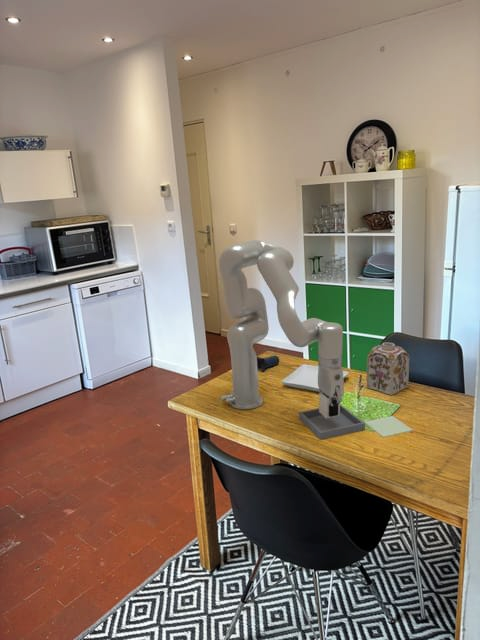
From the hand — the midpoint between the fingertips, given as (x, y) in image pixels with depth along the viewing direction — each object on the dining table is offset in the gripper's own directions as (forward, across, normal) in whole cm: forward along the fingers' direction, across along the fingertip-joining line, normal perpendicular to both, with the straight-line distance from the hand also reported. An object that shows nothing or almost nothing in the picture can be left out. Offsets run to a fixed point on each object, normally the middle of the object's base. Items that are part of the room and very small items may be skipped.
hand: (329, 411), depth 163 cm
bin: (+5, -1, 0) cm, 5 cm away
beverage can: (+7, +60, -1) cm, 60 cm away
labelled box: (+1, 0, 0) cm, 1 cm away
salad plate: (+6, +34, -12) cm, 37 cm away
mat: (+5, -10, -16) cm, 20 cm away
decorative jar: (+5, +18, -35) cm, 40 cm away
